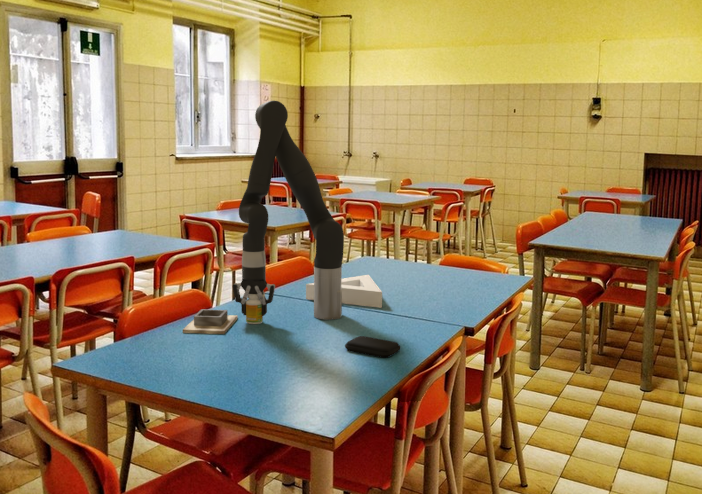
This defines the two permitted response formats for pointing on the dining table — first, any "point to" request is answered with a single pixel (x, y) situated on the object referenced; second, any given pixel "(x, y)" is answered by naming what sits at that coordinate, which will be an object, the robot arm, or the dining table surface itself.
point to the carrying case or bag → (372, 346)
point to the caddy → (211, 322)
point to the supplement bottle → (254, 309)
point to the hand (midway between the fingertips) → (254, 314)
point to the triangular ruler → (355, 291)
